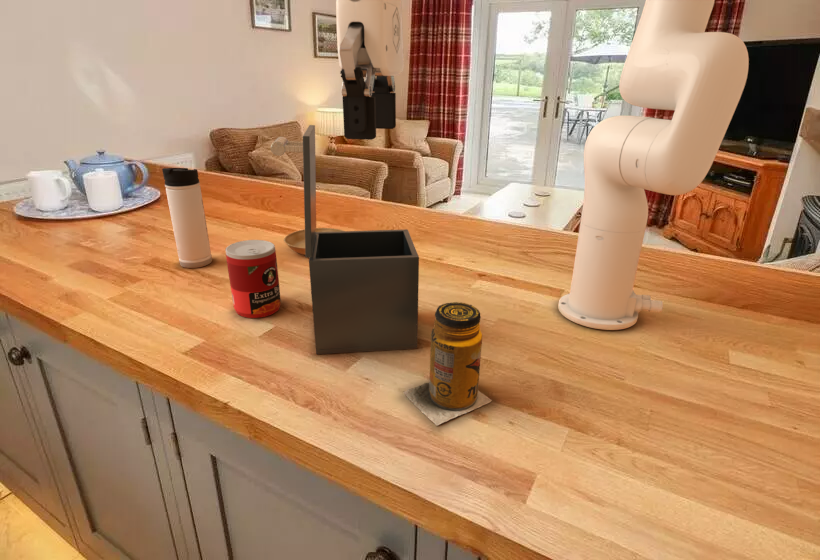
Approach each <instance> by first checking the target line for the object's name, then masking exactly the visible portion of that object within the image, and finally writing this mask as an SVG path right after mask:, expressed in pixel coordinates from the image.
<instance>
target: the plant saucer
mask: <svg viewBox="0 0 820 560" xmlns="http://www.w3.org/2000/svg"><path fill="white" fill-rule="evenodd" d="M336 231H344V230H342V229H340V228H339V229H338V228H332V227H316V232H336ZM283 242H284V243H285V245H287V246H288V247H289V248H290V249H291V250H292V251H294V252H295V253H296V254H300V255H302V256H305V228H304V229H299V230H295V231H293V232H291V233H289V234H287V235H285V236H284V238H283Z"/></svg>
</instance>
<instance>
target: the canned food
mask: <svg viewBox="0 0 820 560" xmlns="http://www.w3.org/2000/svg"><path fill="white" fill-rule="evenodd" d="M225 257H226V265H227V273H228V278H229V286H230V290H231V291H230V292H231V298H232V304H233V309H234V311H235V313H236V314H237V315H238V316H241V317H242V318H248V319H260V318H265V317H269V316H271V315H274V314H276V313H277V312H278V311H279V310H280V308H281V304H282V303H281V302H282V300H281V289H280V281H279V280H280V279H279V269H278V260H277V250H276V245H275V244H274V243H273V242H271V241H268V240H263V239H247V240H240V241H236V242H234V243H230V244H229V245H228V246H226V248H225Z"/></svg>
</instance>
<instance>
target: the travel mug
mask: <svg viewBox="0 0 820 560" xmlns="http://www.w3.org/2000/svg"><path fill="white" fill-rule="evenodd" d="M161 170H162V175H163V176H162V177H163V180H164V188H165V193H166V198H167V204H168V209H169V216H170V219H171V223H172V224H171V225H172V229H173V235H174V241H175V246H176V250H177V256H178V263H179V265H180V266H181V267H182V268H187V269H198V268H202V267H205V266H208V265H210V264H211V263H212V262H213V257H212V249H211V244H210V237H209V232H208V231H209V230H208V225H207V219H206V214H205V207H204V200H203V195H202V188H201V182H200V179H199V172H198V169H197V168H193V169H191V168H187V167H164V168H161Z"/></svg>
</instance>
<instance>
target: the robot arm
mask: <svg viewBox="0 0 820 560" xmlns="http://www.w3.org/2000/svg"><path fill="white" fill-rule="evenodd" d="M715 1H716V0H645V2H644V5H643V8H642V12H641V16H640V18H639V21H638V24H637V26H636V30H635V32H634V35H633V39H632V40H631V44H630V47H629V49H628V52H627V55H626V58H625V62H624V64H623V67H622V71H621V74H620V78H619V83H618V90H619V94H620V97H621V98H622V99H623V100H624V101H625V102H626V103H627V104H629V105H632V106H634V107H639V108H645V109H651V110H663V111H674V112H673V114H672V118H671V119H666V118H665V119H664V118H657V117H651V116H639V115H629V114H628V115H627V114H626V115H625V114H620V115H614V116H610V117H607V118H604V119H603V120H601V121H599V122H598V123H597V124H595V126H593V128H592V129H591V130H590V132H589V133H588V135H587V137H586V140H585V143H584V148H583V171H584V193H583V202H582V209H581V210H582V211H581V217H580V222H579V223H580V224H579V230H578V236H577V241H576V249H575V254H574V255H575V257H574V263H573V270H572V275H571V282H570V289H569V293H567V294H564V295H563V296H561V297H560V298H559V300H558V304H557V309H558V311H559V313H560V314H561V315H562V316H563V317H565V318H566V319H567V320H568V321H570V322H572V323H575V324H577V325H580V326H582V327H586V328H590V329H596V330H603V331H619V330H624V329H628V328H631V327H633V326H634V325H635V324H636V323H637V322H638V318H639V313H641V311H645V312H651V313H658V314H659V313H662V312H663V309H664V307H663V306H664V302H663V300H657V299H652V297H651V295H650V294H638V293H637V294H636V292H635V291H634V286H635V283H636V282H635V281H636V276H637V272H638V266H639V263H640V258H641V252H642V247H643V243H644V238H645V234H646V229H647V225H648V219H649V205H648V204H649V203H648V199H647V195H646V191H651V192H654V193H659V194H663V195H668V196H669V195H670V196H681V195H687V194H688V193H691V192H692V191H694V190H695V189H697V188H698V186H699V185H700V184H701V183H702V182H703V181H704V180H705V178H706V176H707V175H708V173H709V171H710V169H711V167H712V166H713V163H714V160H715V158H716V156H717V154H718V151H719V149H720V147H721V144H722V142H723V140H724V138H725V135H726V133H727V130H728V128H729V125H730V123H731V121H732V119H733V116H734V114H735V111H736V109H737V107H738V104H739V103H740V100H741V97H742V95H743V92H744V89H745V86H746V84H747V79H748V74H749V65H750V63H749V61H750V58H749V52H748V49H747V46H746V44H745V42H744V41H743V40H742V38H740V37H739V36H737V35H735V34H733V33H730V32H724V31H708V32H707V31H706V29H707V26H708V22H709V20H710V17H711V14H712V11H713V8H714V6H715ZM335 6H336V7H335V9H336V10H335V13H336V14H335V15H336V16H335V17H336V18H335V19H336V22H335V23H336V44H337V57H338V65H339V68H340V71H339V74H340V78H341V79H342V84H341V96H342V116H343V135H344V138H345V139H346V140H364V141H365V140H368V141H370V140H371V141H372V140H374V139H376V137H377V129H379V130H394V129H395V128H396V127H397V125H396V124H397V122H396V121H397V104H396V103H397V102H396V101H397V98H396V97H397V94H396V80H395V76H400V75H401V74H402V73H403V72H404V69H405V60H404V58H405V57H404V56H405V55H404V31H403V29H404V28H403V27H404V26H403V6H402V0H335ZM705 31H706V32H705ZM645 190H646V191H645Z"/></svg>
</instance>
